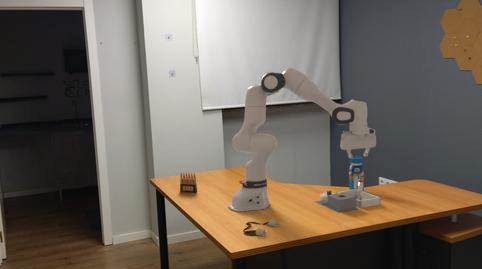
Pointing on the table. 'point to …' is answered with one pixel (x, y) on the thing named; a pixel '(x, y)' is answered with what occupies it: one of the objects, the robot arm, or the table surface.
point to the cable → (261, 231)
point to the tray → (369, 198)
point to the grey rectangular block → (338, 201)
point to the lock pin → (360, 189)
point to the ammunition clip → (188, 183)
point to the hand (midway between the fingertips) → (358, 157)
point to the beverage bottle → (355, 172)
